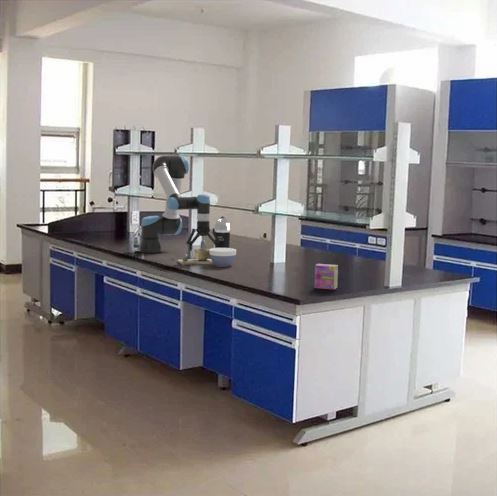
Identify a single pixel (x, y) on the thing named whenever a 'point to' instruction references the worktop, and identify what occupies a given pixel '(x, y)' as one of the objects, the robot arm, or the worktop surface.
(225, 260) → the bowl
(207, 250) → the brass collar
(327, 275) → the box
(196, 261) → the birch board
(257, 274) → the worktop surface
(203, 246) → the tall steel post
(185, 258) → the short steel post
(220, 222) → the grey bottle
